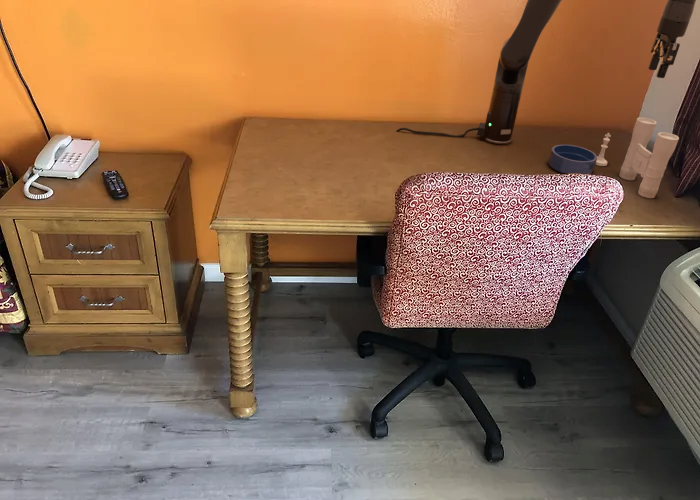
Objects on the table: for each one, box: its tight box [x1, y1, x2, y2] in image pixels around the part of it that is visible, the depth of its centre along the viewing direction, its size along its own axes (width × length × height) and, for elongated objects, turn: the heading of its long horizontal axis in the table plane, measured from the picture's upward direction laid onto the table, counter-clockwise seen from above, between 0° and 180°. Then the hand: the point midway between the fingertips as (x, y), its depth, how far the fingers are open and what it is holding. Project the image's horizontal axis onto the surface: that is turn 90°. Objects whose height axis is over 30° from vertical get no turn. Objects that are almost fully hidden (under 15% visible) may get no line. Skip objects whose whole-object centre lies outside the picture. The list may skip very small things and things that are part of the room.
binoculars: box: [618, 116, 680, 199], centre depth 175 cm, size 17×5×18 cm, turn 5°
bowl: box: [548, 144, 598, 175], centre depth 186 cm, size 13×13×5 cm
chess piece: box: [595, 132, 612, 167], centre depth 190 cm, size 5×5×10 cm
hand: (655, 73), depth 182 cm, fingers open, 8 cm apart
